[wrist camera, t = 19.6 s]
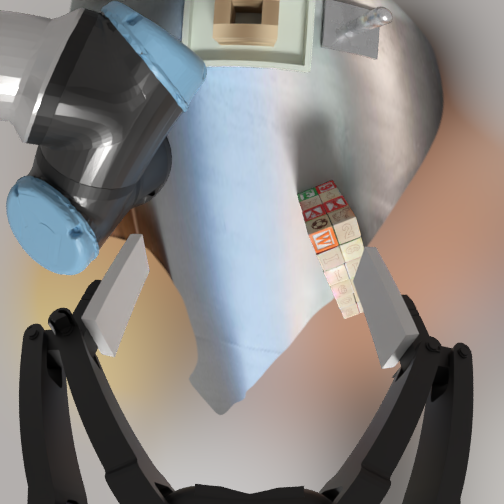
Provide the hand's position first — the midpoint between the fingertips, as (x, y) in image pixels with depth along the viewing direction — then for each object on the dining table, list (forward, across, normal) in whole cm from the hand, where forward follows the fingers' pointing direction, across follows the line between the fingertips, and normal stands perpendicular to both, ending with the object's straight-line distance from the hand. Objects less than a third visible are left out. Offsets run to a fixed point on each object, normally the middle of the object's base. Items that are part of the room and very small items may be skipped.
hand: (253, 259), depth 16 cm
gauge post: (+27, +12, +20) cm, 35 cm away
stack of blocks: (+27, +15, -15) cm, 34 cm away
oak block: (+26, -2, +18) cm, 32 cm away
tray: (+27, -2, +18) cm, 33 cm away
